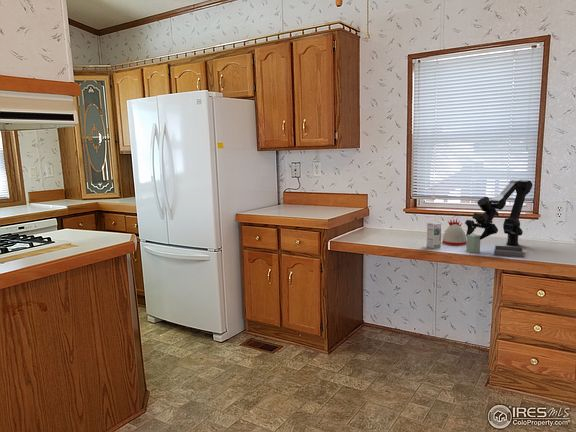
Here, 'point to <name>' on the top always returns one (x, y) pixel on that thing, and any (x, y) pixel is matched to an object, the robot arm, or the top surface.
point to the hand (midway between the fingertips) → (473, 237)
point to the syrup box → (434, 234)
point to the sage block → (473, 243)
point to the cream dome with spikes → (454, 234)
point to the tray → (508, 251)
